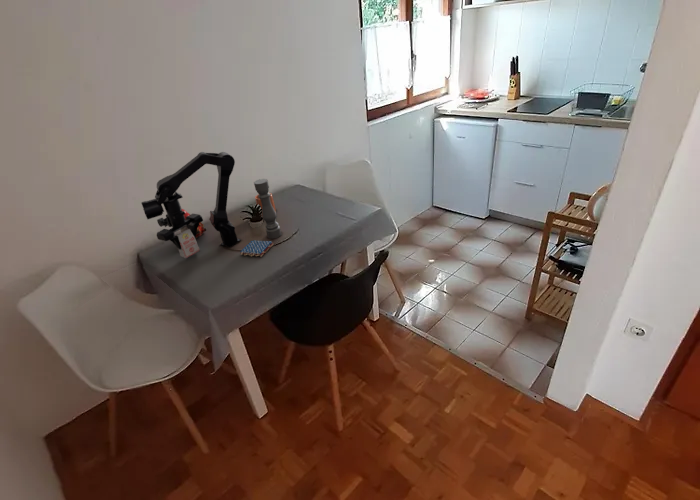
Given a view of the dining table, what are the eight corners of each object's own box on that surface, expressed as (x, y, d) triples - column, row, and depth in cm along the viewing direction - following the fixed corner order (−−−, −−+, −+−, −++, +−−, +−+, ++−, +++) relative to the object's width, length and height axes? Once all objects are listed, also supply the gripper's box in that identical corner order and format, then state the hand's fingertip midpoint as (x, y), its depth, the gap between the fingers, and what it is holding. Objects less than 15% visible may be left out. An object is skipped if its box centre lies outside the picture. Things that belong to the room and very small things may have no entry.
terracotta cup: (279, 210, 205) (275, 193, 201) (268, 217, 200) (264, 199, 195) (267, 208, 210) (262, 191, 205) (256, 215, 204) (251, 198, 199)
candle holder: (268, 233, 184) (254, 180, 172) (281, 230, 184) (268, 177, 172) (266, 239, 179) (252, 185, 167) (281, 237, 179) (267, 182, 167)
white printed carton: (181, 256, 172) (172, 235, 168) (194, 248, 177) (186, 227, 172) (186, 258, 170) (177, 236, 165) (199, 250, 175) (192, 229, 170)
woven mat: (262, 257, 165) (260, 253, 164) (240, 256, 169) (238, 251, 168) (274, 244, 174) (273, 240, 173) (253, 243, 178) (252, 239, 177)
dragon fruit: (197, 233, 199) (203, 245, 190) (179, 229, 193) (185, 241, 185) (204, 217, 196) (210, 229, 188) (186, 213, 191) (192, 225, 182)
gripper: (180, 199, 175) (192, 232, 182) (141, 218, 162) (156, 252, 169) (197, 202, 169) (209, 235, 177) (158, 222, 156) (173, 257, 163)
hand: (187, 245), depth 172 cm, fingers closed on white printed carton, 7 cm apart
